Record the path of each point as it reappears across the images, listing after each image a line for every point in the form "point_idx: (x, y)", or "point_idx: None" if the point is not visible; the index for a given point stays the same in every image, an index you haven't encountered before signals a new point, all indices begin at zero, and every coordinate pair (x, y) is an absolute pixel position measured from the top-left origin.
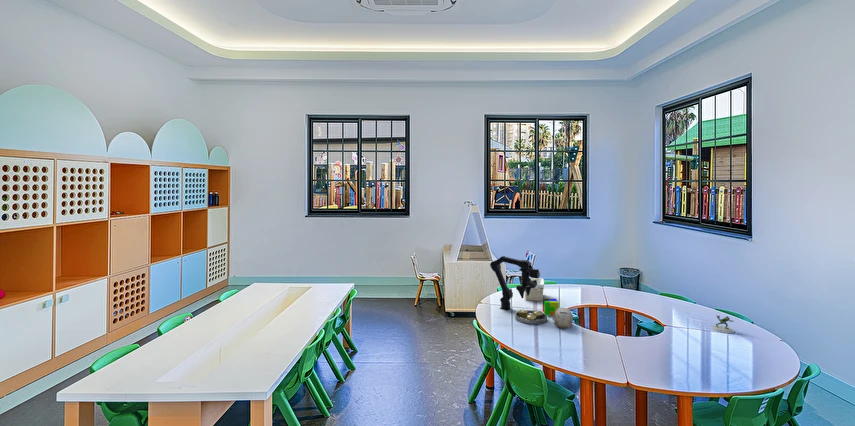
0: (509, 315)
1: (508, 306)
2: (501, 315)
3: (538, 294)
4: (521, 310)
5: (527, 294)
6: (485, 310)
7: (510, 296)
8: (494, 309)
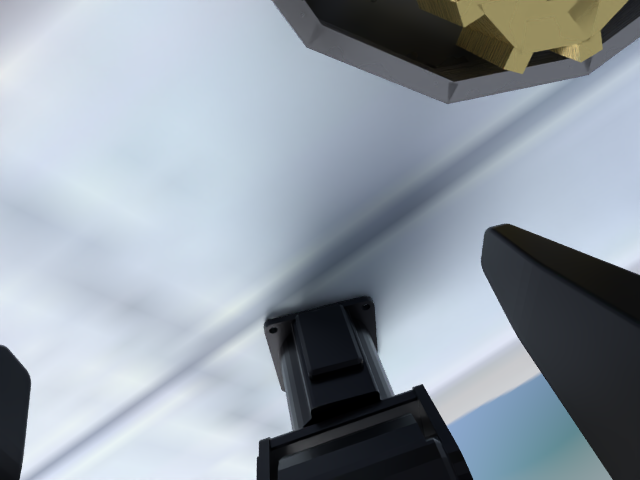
0: (529, 152)
1: (353, 332)
2: (575, 211)
3: None
4: (546, 8)
5: (18, 410)
6: (506, 379)
7: (403, 474)
8: (430, 367)
